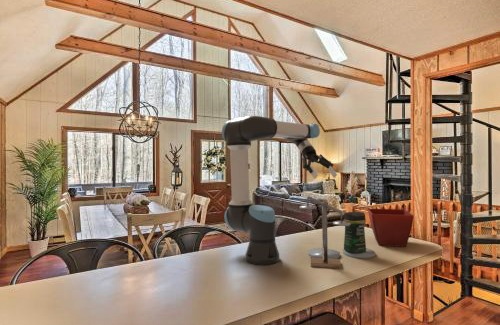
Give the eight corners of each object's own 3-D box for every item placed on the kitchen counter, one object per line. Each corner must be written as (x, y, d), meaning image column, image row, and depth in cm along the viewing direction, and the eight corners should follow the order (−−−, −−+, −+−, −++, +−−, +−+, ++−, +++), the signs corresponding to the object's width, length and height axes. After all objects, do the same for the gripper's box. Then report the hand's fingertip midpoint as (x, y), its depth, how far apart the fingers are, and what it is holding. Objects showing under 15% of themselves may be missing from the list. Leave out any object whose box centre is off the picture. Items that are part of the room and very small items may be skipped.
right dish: (344, 257, 127) (344, 254, 127) (341, 248, 140) (341, 246, 140) (378, 259, 124) (378, 256, 124) (371, 250, 137) (371, 247, 137)
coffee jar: (353, 255, 126) (352, 213, 126) (341, 250, 133) (340, 211, 134) (369, 252, 130) (368, 212, 130) (357, 248, 137) (356, 209, 137)
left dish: (308, 259, 125) (308, 256, 125) (308, 250, 139) (308, 247, 139) (341, 260, 122) (341, 258, 122) (338, 251, 136) (338, 249, 136)
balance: (300, 266, 116) (299, 196, 117) (300, 260, 123) (299, 195, 124) (352, 269, 112) (351, 197, 113) (350, 263, 119) (348, 195, 120)
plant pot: (372, 246, 143) (371, 213, 143) (368, 237, 161) (367, 208, 162) (414, 249, 137) (414, 215, 138) (405, 239, 156) (404, 209, 156)
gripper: (320, 155, 171) (339, 180, 157) (286, 154, 159) (304, 182, 146) (326, 145, 166) (346, 171, 153) (292, 144, 155) (310, 172, 141)
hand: (326, 176), depth 149 cm, fingers open, 13 cm apart
